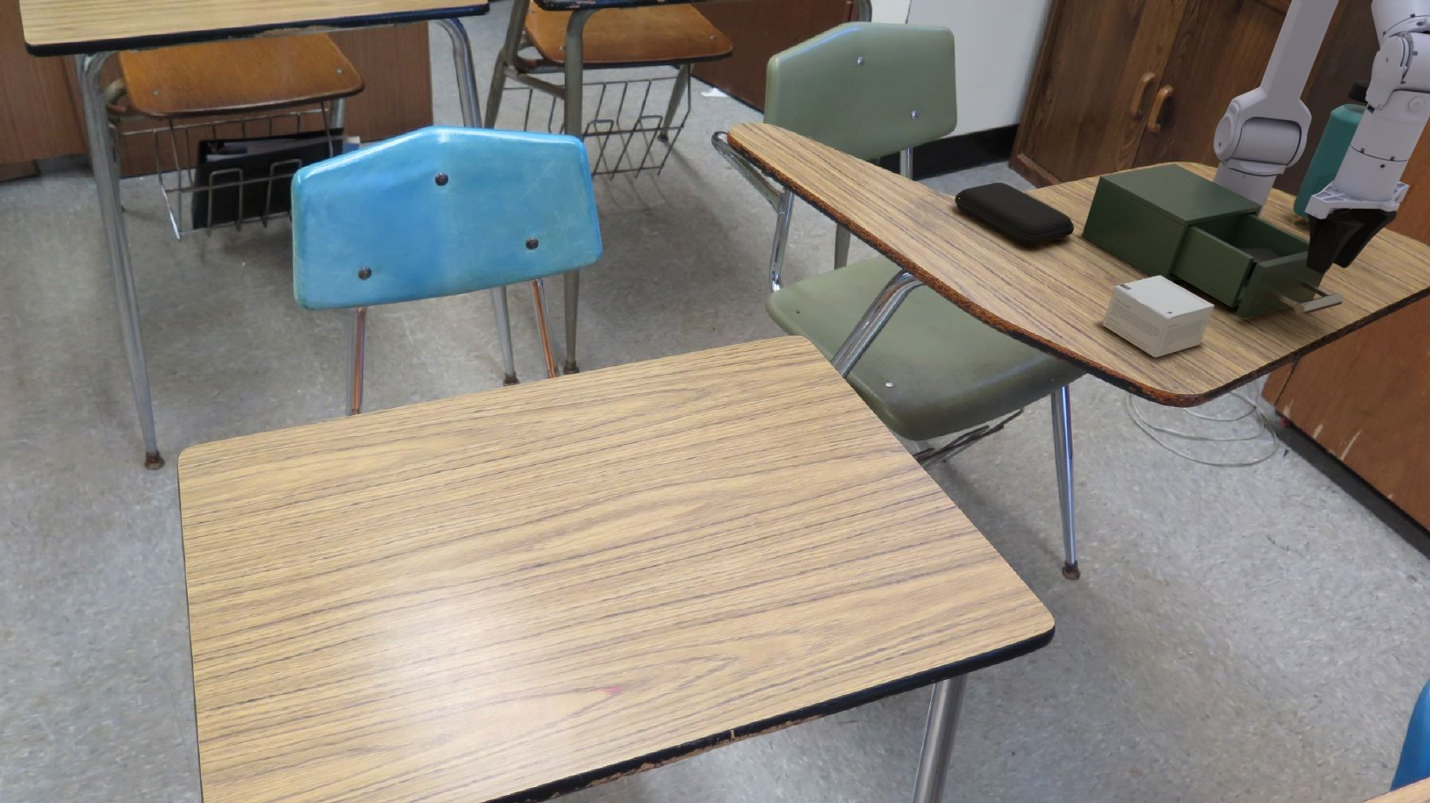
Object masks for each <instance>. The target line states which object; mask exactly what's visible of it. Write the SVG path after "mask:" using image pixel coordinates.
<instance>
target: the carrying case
mask: <svg viewBox="0 0 1430 803" xmlns="http://www.w3.org/2000/svg"><path fill="white" fill-rule="evenodd" d="M959 198H960V199H959ZM954 203H955V205H956V206H957V208H958V209H959V210H960V211H961V212H962V213H964V214H965V215H967V216H968V217H970V218H972V219H974V220H975V221H977V222H978V223H981V224H982V225H985V226H986V227H987V228H989V229H991V230H993V231H995V232H996V233H998V234H1000V235H1002V236H1004V237H1006V238H1007V239H1009V240H1011V241H1013V242H1015V243H1016V244H1019V245H1021V246H1022V247H1027V248H1028V247H1029V248H1030V247H1034V246H1039V245H1043V244H1046V243H1051V242H1054V241H1058V240H1062V239H1065V238H1067V237H1068V236H1070V235H1071V234H1073V232H1074V230H1075V226H1074V223H1073V222H1072V219H1071V218H1070V217H1069V216H1068V215H1067V214H1065V213H1063V212H1061V211H1060V210H1058V209H1055V208H1054V207H1052V206H1050V205H1048V204H1046V203H1044V202H1043V201H1040V200H1039V199H1037V198H1035V197H1033V196H1031V195H1029V194H1028V193H1025V192H1023V191H1022V190H1019V189H1017V188H1016V187H1013V186H1011V185H1009V184H1007V183H1004V182H999V181H998V182H992V183H988V184H983V185H978V186H973V187H967V188H965V189H962V190H960V192H958V193H956V195H955V196H954Z"/></svg>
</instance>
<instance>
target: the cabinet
mask: <svg viewBox="0 0 1430 803" xmlns="http://www.w3.org/2000/svg"><path fill="white" fill-rule="evenodd" d="M1261 207H1262V205H1260V204H1258V203H1256V202H1253V201H1251V200H1249V199H1247V198H1245V197H1243V196H1241V195H1239V194H1237V193H1235V192H1233V191H1230V190H1228V189H1226V188H1224V187H1222V186H1220V185H1218V184H1216V183H1214V182H1213V180H1209V179H1207V178H1205V177H1203V176H1201V175H1200V174H1197V173H1195V172H1193V171H1191V170H1188V169H1186V168H1185V167H1183V166H1181V165H1178V164H1176V163H1171V164H1166V165H1159V166H1153V167H1147V168H1140V169H1134V170H1129V171H1122V172H1117V173H1111V174H1106V175H1105V174H1104V175H1100V176H1099V178H1098V182H1097V185H1096V188H1095V192H1094V195H1093V198H1092V201H1091V205H1090V207H1089V211H1088V215H1087V218H1086V221H1085V224H1084V226H1083V231H1082V234H1081V237H1083V238H1085V239H1086V240H1088V241H1090V242H1091V243H1093V244H1095V245H1096V246H1098V247H1100V248H1102V249H1104V250H1105V251H1107V252H1109V253H1110V254H1112V255H1113V256H1115V257H1117V258H1119V259H1120V260H1122V261H1124V262H1126V263H1127V264H1129V265H1131V266H1133V267H1134V268H1136V269H1138V270H1139V271H1141V272H1143V273H1144V274H1145V275H1148V276H1150V277H1154V276H1159V275H1161V276H1162V277H1164V278H1166V279H1168V280H1169V281H1171V282H1173V283H1174V282H1177V281H1181V280H1182V279H1181V278H1179V277H1178V276H1176V275H1174V274H1172V273H1171V271H1172V269H1173V266H1174V263H1175V260H1176V258H1177V255H1178V252H1179V249H1180V247H1181V244H1182V241H1183V239H1184V236H1185V233H1186V230H1187V228H1188V225H1192V224H1197V223H1201V222H1206V221H1211V220H1216V219H1221V218H1226V217H1231V216H1236V215H1241V214H1246V213H1251V214H1253V215H1255V216H1257V217H1258V215H1259V213H1260V210H1261Z"/></svg>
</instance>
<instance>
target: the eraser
mask: <svg viewBox="0 0 1430 803" xmlns="http://www.w3.org/2000/svg"><path fill="white" fill-rule="evenodd" d="M1237 249H1239V250H1241V251H1243V252H1245V253H1247V254H1249V255H1251V256H1253V257H1254V261H1253V263H1252V266H1251V268H1250V271H1249V273H1248V276H1247V278H1246V280H1245V283H1244V285H1243V286H1248V283H1249V281H1250V279H1251V276H1252V274H1253V271H1254V269H1255V267H1256V264H1257V263H1260V262H1264V261H1268V260H1272V259H1277V258H1281V257H1280V256H1279V255H1277V254H1276V253H1275V252H1273V251H1272V250H1271V249H1270V248H1237Z"/></svg>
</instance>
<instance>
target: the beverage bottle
mask: <svg viewBox="0 0 1430 803" xmlns="http://www.w3.org/2000/svg"><path fill="white" fill-rule="evenodd" d="M1370 82H1371V80H1363V79H1362V80H1360V79H1359V80H1354V82H1353V84H1352V85H1351V87H1350V89H1349V90H1348V92H1347V95H1346V96H1347V97H1348V98H1349V99H1350V100H1352V101H1355V102H1359V103H1363V104H1366V105H1367V104H1368V102H1367V101H1366V99H1365V98H1366V95H1367V94H1366V92H1367V90H1368V88H1369V85H1370ZM1366 107H1367V106H1365V105H1360V104H1356V103H1345V104H1343V105H1341V106H1338V107H1336V108H1334V109H1333V110H1331V112H1330V115H1329V118H1328V120H1327V122H1326V125H1325V127H1324V130H1323V133H1322V135H1321V138H1320V140H1319V143H1318V145H1317V148H1316V150H1315V152H1314V153H1313V155H1312V157H1311V160H1310V161H1309V162H1308V167H1307V169H1306V171H1305V174H1304V176H1303V178H1302V182H1300V186H1299V187H1298V190H1297V193H1296V194H1295V198H1294V200H1293V203H1292V207H1293V208H1292V210H1293V212H1294V213H1295V214H1296V215H1297V216H1298V217H1301V218H1303V219H1305V220H1307V221H1309V219H1308V215H1307V213H1306V212H1305V209H1306V207H1307V205H1308V202H1309V200H1310V198H1311V195H1315V194H1318V193H1319V192H1321V191H1322V190H1323V189H1324V188H1325V187H1326V186H1327V185H1329V184H1330V183H1331V182H1332V181H1334V180H1335V178H1336V175H1337V173H1338V171H1339V168H1340V166H1341V164H1342V162H1343V159H1344V157H1345V155H1346V152H1347V150H1348V148H1349V145H1350V143H1351V141H1352V139H1353V136H1354V134H1355V132H1356V130H1357V127H1358V125H1359V123H1360V120H1361V118H1362V116H1363V114H1364V111H1365V109H1366Z"/></svg>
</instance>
